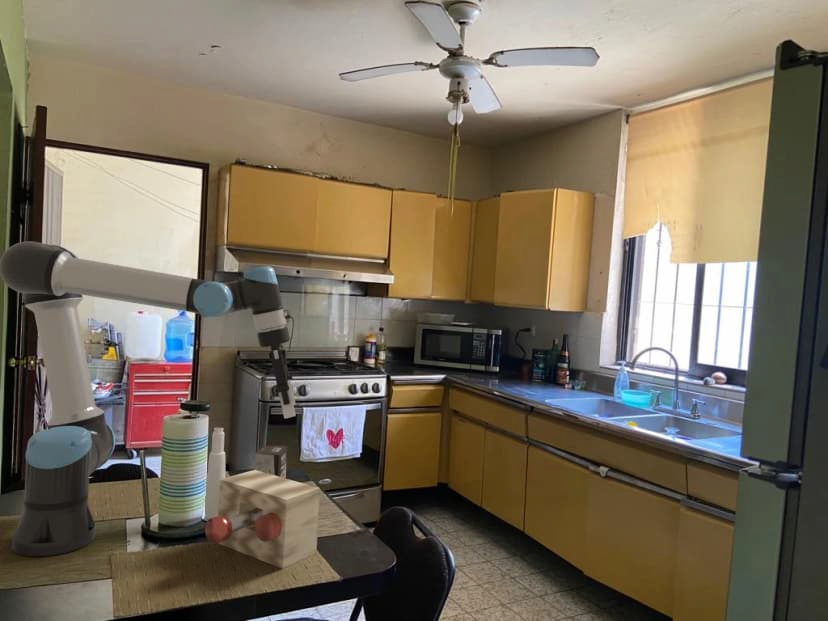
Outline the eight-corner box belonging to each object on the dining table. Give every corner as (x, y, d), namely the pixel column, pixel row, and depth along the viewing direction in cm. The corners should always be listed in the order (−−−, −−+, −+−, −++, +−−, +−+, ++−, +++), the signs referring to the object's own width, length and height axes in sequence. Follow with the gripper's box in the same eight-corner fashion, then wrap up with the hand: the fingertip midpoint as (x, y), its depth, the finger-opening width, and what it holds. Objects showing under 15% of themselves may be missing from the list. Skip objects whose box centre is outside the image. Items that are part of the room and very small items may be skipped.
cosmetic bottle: (231, 518, 143) (236, 429, 143) (208, 524, 138) (213, 432, 138) (219, 512, 147) (223, 424, 147) (196, 517, 142) (200, 427, 142)
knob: (221, 547, 114) (222, 521, 114) (204, 540, 117) (205, 515, 117) (268, 528, 125) (270, 504, 124) (252, 522, 127) (253, 499, 127)
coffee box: (276, 520, 144) (279, 454, 143) (250, 518, 144) (253, 453, 144) (285, 507, 153) (288, 445, 153) (260, 505, 153) (263, 444, 153)
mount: (207, 546, 127) (210, 482, 126) (251, 529, 137) (254, 469, 137) (273, 573, 116) (277, 502, 116) (316, 552, 127) (319, 488, 126)
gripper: (286, 329, 134) (305, 418, 136) (287, 322, 159) (304, 397, 160) (253, 336, 133) (273, 426, 135) (259, 328, 157) (276, 404, 159)
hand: (290, 411), depth 147 cm, fingers open, 13 cm apart
